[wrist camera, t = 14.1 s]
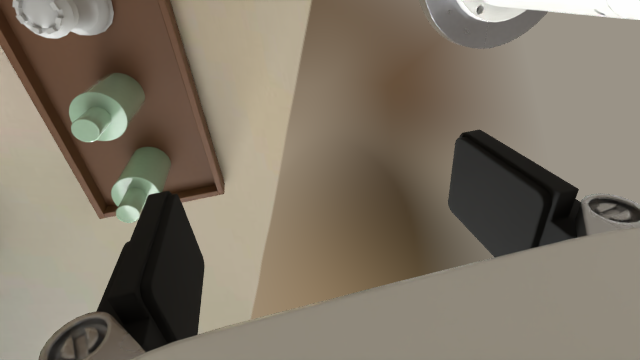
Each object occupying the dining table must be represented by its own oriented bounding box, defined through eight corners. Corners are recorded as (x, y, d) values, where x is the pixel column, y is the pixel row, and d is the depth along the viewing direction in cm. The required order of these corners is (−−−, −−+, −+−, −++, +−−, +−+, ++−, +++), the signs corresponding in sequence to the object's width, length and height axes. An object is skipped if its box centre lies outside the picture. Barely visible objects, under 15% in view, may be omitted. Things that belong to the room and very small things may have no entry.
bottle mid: (135, 69, 31) (102, 99, 23) (151, 111, 33) (126, 150, 25) (89, 76, 30) (39, 108, 23) (108, 118, 32) (69, 161, 25)
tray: (148, -71, 27) (142, -75, 25) (224, 183, 40) (224, 194, 38) (-35, -53, 25) (-58, -56, 23) (106, 207, 38) (99, 219, 36)
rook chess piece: (124, 30, 29) (91, 44, 22) (69, 38, 29) (19, 55, 22) (101, -31, 27) (56, -35, 20) (40, -23, 26) (-26, -25, 19)
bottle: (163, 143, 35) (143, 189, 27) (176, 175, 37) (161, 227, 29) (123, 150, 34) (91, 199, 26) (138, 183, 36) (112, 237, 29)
